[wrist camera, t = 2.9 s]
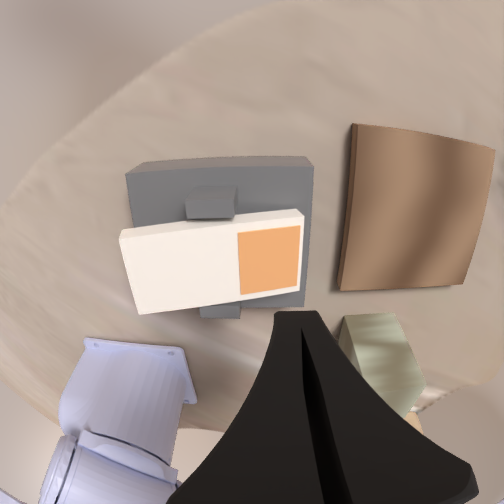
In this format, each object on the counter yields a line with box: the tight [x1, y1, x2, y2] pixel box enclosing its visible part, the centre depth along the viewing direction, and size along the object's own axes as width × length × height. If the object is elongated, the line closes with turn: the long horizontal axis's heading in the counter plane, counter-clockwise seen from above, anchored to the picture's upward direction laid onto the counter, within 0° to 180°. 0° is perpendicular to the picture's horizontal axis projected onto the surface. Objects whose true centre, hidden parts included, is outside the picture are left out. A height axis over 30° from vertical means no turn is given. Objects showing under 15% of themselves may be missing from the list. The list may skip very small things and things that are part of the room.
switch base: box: [125, 156, 314, 319], centre depth 15 cm, size 9×8×4 cm
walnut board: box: [337, 123, 495, 291], centre depth 16 cm, size 10×10×1 cm
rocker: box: [119, 209, 304, 315], centre depth 14 cm, size 8×4×1 cm, turn 91°
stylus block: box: [338, 312, 427, 418], centre depth 18 cm, size 4×4×7 cm
